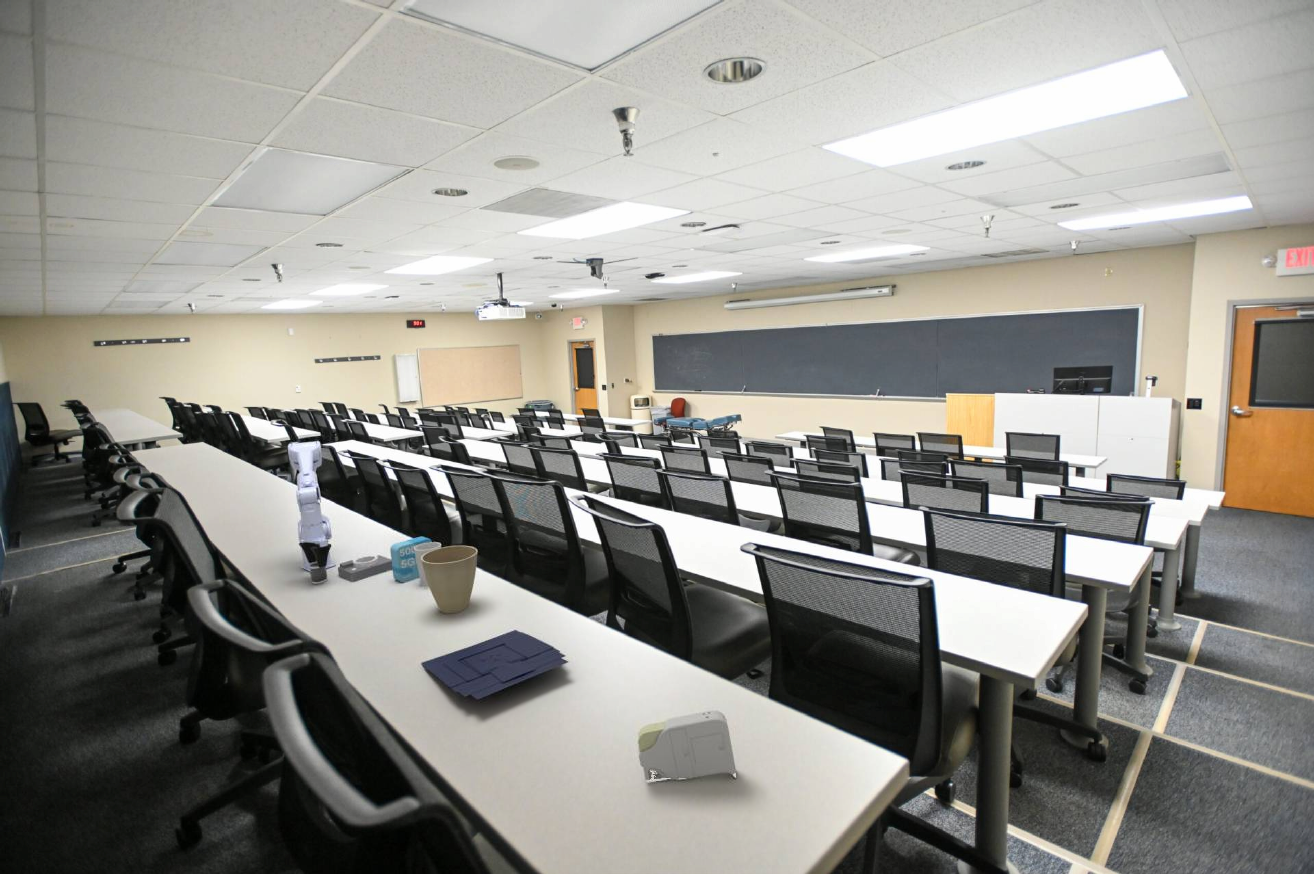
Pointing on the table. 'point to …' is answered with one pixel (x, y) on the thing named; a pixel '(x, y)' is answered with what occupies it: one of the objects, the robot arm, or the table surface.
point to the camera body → (364, 567)
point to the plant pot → (451, 576)
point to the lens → (318, 574)
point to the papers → (495, 664)
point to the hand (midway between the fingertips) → (317, 564)
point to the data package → (406, 559)
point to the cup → (419, 552)
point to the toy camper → (686, 747)
